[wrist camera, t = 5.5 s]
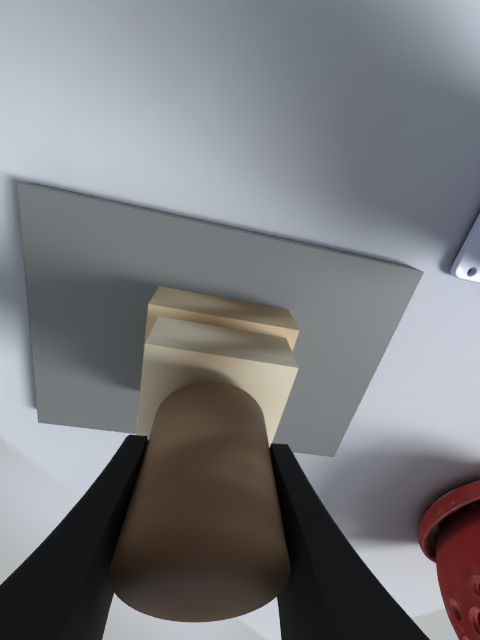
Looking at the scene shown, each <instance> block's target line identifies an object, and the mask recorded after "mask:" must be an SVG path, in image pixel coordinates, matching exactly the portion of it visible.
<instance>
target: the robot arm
mask: <svg viewBox="0 0 480 640" xmlns="http://www.w3.org/2000/svg"><path fill="white" fill-rule="evenodd" d="M470 268H471V271H470V272H469V273H468V274H467V272H468V270H469V269H470ZM450 271H451V275H452V276H454V277H456V278H458V279H463V280H467V281H472V282H477V283H480V214H479V216H478V217H477V219H476V221H475V223H474V225H473V227H472V229H471V231H470V233H469V235H468V236H467V238H466V240H465V242H464V244H463V246H462V248H461V250H460V252H459V254H458V256H457V257H456V259H455V261H454V263H453V265H452V267H451V270H450ZM147 443H148V436H142V435H129V436H127V437H126V439H125V440H124V442H123V443H122V445H121V446H120V448H119V449H118V451H117V452H116V454H115V455H114V456H113V458H112V459H111V461H110V462H109V463H108V465H107V466H106V467H105V469H104V470H103V471H102V473H101V474H100V475H99V477H98V478H97V479H96V480H95V482H94V483H93V484H92V485H91V487H90V488H89V489H88V491H87V492H86V493H85V494H84V496H83V497H82V498H81V499H80V500H79V502H78V503H77V504H76V505H75V506H74V507H73V509H72V510H71V511H70V512H69V513H68V515H67V516H66V517H65V518H64V519H63V520H62V521H61V523H60V524H59V525H58V526H57V527H56V528H55V529H54V530H53V531H52V533H51V534H50V535H49V536H48V537H47V538H46V539H45V540H44V542H42V543H41V544H40V546H39V547H38V548H37V549H36V550H35V551H34V552H33V553H32V554H31V555H30V556H29V557H28V558H27V559H26V560H25V561H24V562H23V563H22V564H21V565H20V566H19V567H18V568H17V569H16V570H15V571H14V572H13V573H12V574H11V575H10V576H9V577H8V578H7V579H6V580H5V581H4V582H3V583H2V584H1V585H0V640H102V637H103V633H104V629H105V625H106V621H107V617H108V612H109V609H110V605H111V602H112V598H113V594H114V591H113V590H112V587H111V585H110V582H109V568H110V565H111V562H112V558H113V555H114V552H115V548H116V545H117V542H118V538H119V535H120V532H121V528H122V525H123V522H124V518H125V515H126V512H127V508H128V505H129V502H130V498H131V495H132V492H133V488H134V485H135V482H136V479H137V475H138V472H139V469H140V466H141V463H142V459H143V456H144V453H145V449H146V446H147ZM270 454H271V460H272V465H273V471H274V477H275V482H276V488H277V494H278V499H279V505H280V511H281V516H282V522H283V528H284V533H285V539H286V545H287V551H288V556H289V562H290V577H289V580H288V582H287V584H286V586H285V588H284V589H283V590H282V592H281V593H280V594H279V595H278V596H277V600H278V607H279V617H280V628H281V639H282V640H430V639H429V638H428V637H427V636H426V635H425V634H424V633H423V632H422V630H421V629H420V628H419V627H418V626H417V625H416V624H415V623H414V621H413V620H412V619H411V618H410V617H409V616H408V615H407V613H406V612H405V611H404V610H403V609H402V608H401V607H400V605H399V604H398V603H397V602H396V601H395V600H394V599H393V598H392V596H391V595H390V594H389V593H388V592H387V591H386V589H385V588H384V587H383V586H382V584H381V583H380V582H379V581H378V579H377V578H376V577H375V576H374V575H373V573H372V572H371V571H370V570H369V568H368V567H367V566H366V564H365V563H364V562H363V561H362V559H361V558H360V557H359V555H358V554H357V553H356V551H355V550H354V549H353V547H352V546H351V545H350V543H349V542H348V540H347V539H346V538H345V536H344V535H343V533H342V532H341V531H340V529H339V528H338V526H337V525H336V523H335V522H334V520H333V519H332V517H331V516H330V514H329V513H328V511H327V510H326V508H325V507H324V505H323V504H322V502H321V500H320V499H319V497H318V496H317V494H316V492H315V491H314V489H313V488H312V486H311V484H310V483H309V481H308V479H307V477H306V476H305V474H304V472H303V470H302V469H301V467H300V465H299V463H298V462H297V460H296V458H295V456H294V454H293V452H292V450H291V449H290V447H289V446H288V444H276V443H271V445H270Z"/></svg>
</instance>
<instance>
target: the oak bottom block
mask: <svg viewBox="0 0 480 640" xmlns="http://www.w3.org/2000/svg"><path fill="white" fill-rule="evenodd" d="M158 316H161V317H167V318H173V319H178V320H184V321H190V322H196V323H202V324H207V325H213V326H219V327H225V328H231V329H237V330H242V331H248V332H254V333H260V334H266V335H271V336H277V337H283V338H287V341H288V343H289V346H290V348H291V350H292V351H293V348H294V345H295V342H296V340H297V337H298V334H299V329H298V327H297V325H296V323H295V321H294V319H293V317H292V315H291V313H290V311H289V310H286V309H281V308H276V307H270V306H265V305H259V304H254V303H249V302H243V301H238V300H232V299H227V298H222V297H216V296H211V295H206V294H200V293H195V292H189V291H184V290H179V289H173V288H168V287H163V286H159V288H158V289H157V291H156V292H155V294H154V296H153V297H152V299H151V300H150V302H149V304H148V312H147V322H146V333H145V343H146V341H147V339H148V337H149V335H150V333H151V331H152V329H153V327H154V325H155V323H156V320H157V318H158ZM145 343H144V350H145ZM143 360H144V354H143ZM142 370H143V365H142ZM141 381H142V375H141ZM140 391H141V386H140ZM139 402H140V396H139ZM138 412H139V407H138ZM137 423H138V417H137Z"/></svg>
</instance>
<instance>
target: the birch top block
mask: <svg viewBox="0 0 480 640" xmlns="http://www.w3.org/2000/svg"><path fill="white" fill-rule="evenodd" d="M298 369H299V367H298V365H297V363H296V360H295V358H294V355H293V353H292V350H291V348H290V346H289V343H288V341H287V338H283V337H277V336H271V335H266V334H260V333H254V332H248V331H242V330H237V329H231V328H225V327H219V326H213V325H207V324H202V323H196V322H190V321H184V320H178V319H173V318H167V317H161V316H158V318H157V320H156V323H155V325H154V327H153V329H152V331H151V333H150V335H149V337H148V339H147V341H146V343H145V350H144V360H143V370H142V381H141V391H140V402H139V412H138V423H137V433H136V435H142V436H148V439H149V435H150V432H151V429H152V425H153V422H154V419H155V415H156V412H157V410H158V408H159V406H160V405H161V403H162V402H163V401H164V400H165V399H166V397H168V396H169V395H170V394H171V393H173V392H174V391H176V390H178V389H179V388H182V387H184V386H187V385H190V384H193V383H199V382H221V383H226V384H230V385H233V386H236V387H238V388H240V389H242V390H244V391H245V392H247V393H248V394H250V395H251V396H252V397H253V398H254V399H255V400H256V401H257V403H258V404H259V406H260V407H261V409H262V412H263V415H264V420H265V425H266V431H267V437H268V442H269V448H270V445H271V443H272V441H273V439H274V436H275V433H276V430H277V427H278V425H279V422H280V419H281V416H282V414H283V411H284V408H285V405H286V402H287V400H288V397H289V394H290V391H291V388H292V386H293V383H294V380H295V377H296V374H297V372H298Z"/></svg>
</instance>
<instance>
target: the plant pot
mask: <svg viewBox="0 0 480 640" xmlns="http://www.w3.org/2000/svg"><path fill="white" fill-rule="evenodd" d="M418 538H419V544H420V547H421V549H422V551H423V553H424V554H425V555H426V557H427V558H429V559H430V560H431V561H433V562H435V563H436V567H437V575H438V581H439V586H440V591H441V595H442V598H443V602H444V605H445V608H446V611H447V614H448V617H449V619H450V621H451V624H452V626H453V628H454V630H455V632H456V634H457V636H458V638H459V640H480V480H479V481H475V482H471V483H468V484H465V485H463V486H460V487H458V488H456V489H454V490H452V491H450V492H448V493H446V494H445V495H443V496H442V497H440V498H439V499H438V500H437V501H435V502H434V503H433V504H432V505H431V506H430V507H429V509H428V510H427V511H426V513H425V514H424V516H423V518H422V520H421V523H420V526H419V533H418Z"/></svg>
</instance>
